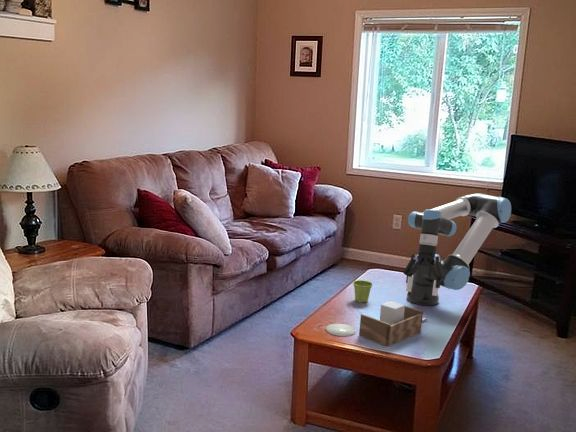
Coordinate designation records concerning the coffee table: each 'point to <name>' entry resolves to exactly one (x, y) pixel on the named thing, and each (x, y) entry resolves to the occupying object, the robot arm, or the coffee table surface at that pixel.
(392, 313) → the supplement box
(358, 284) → the plant pot
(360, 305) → the coffee table surface
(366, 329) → the walnut cubby
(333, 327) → the cream coaster
